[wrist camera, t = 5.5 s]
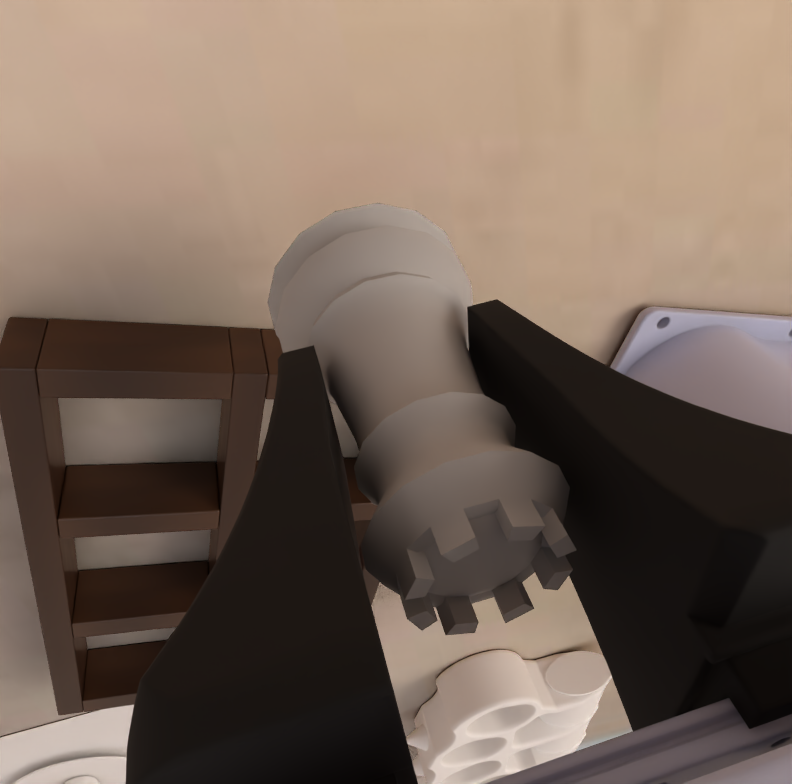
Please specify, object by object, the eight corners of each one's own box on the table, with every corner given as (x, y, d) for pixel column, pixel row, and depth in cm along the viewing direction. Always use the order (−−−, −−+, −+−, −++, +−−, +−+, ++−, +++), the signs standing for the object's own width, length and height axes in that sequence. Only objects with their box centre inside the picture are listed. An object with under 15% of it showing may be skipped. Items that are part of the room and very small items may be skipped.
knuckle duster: (564, 724, 53) (398, 776, 51) (607, 616, 41) (392, 676, 39) (583, 767, 51) (410, 823, 48) (634, 665, 39) (407, 732, 36)
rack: (432, 336, 22) (454, 378, 20) (338, 630, 33) (347, 673, 32) (8, 316, 18) (-10, 367, 16) (64, 663, 29) (58, 716, 27)
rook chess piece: (399, 381, 17) (521, 670, 11) (236, 337, 14) (278, 670, 9) (490, 236, 14) (704, 499, 9) (314, 159, 12) (442, 441, 6)
